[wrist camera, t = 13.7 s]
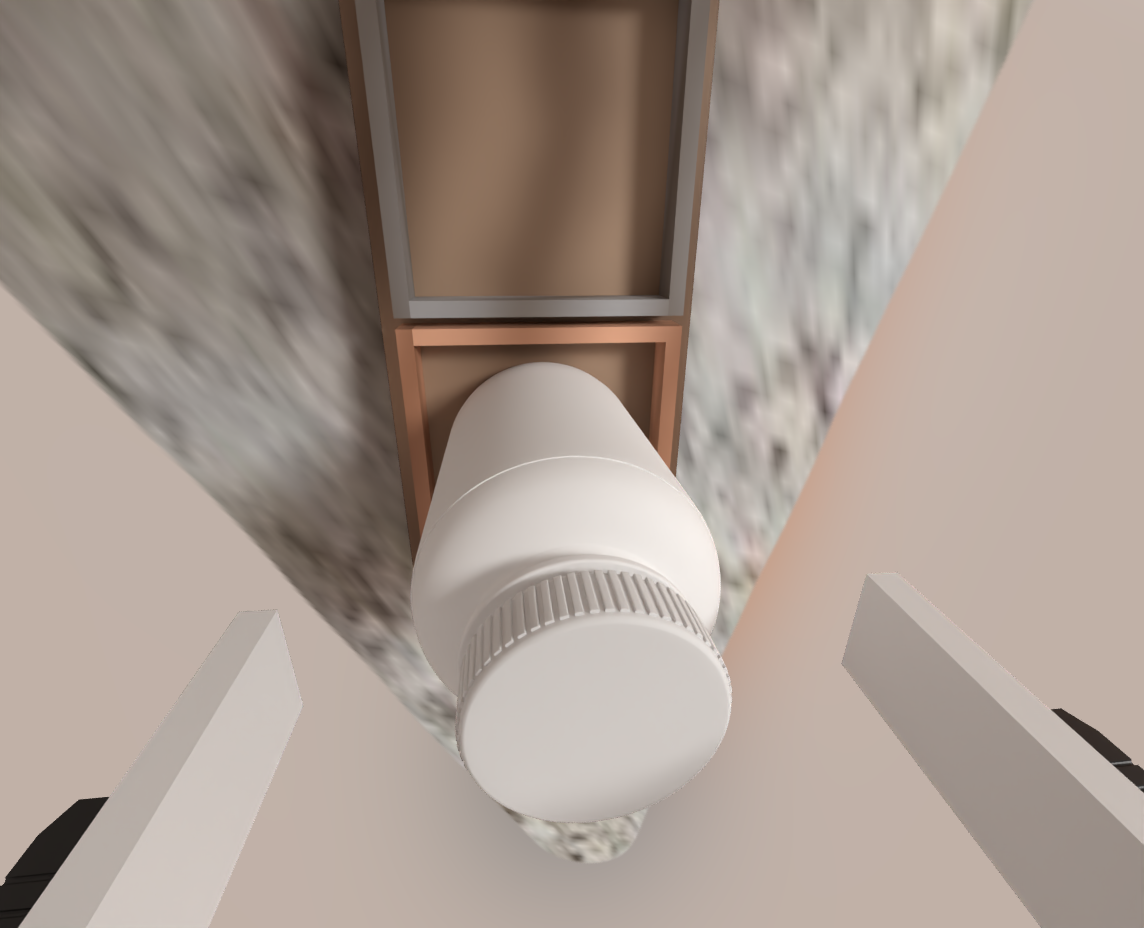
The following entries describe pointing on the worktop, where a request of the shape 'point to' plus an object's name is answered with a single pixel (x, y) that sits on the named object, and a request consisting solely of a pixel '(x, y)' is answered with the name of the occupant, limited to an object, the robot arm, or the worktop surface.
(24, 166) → the worktop surface
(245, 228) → the worktop surface
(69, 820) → the robot arm
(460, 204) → the compartment tray
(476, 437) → the pill bottle
